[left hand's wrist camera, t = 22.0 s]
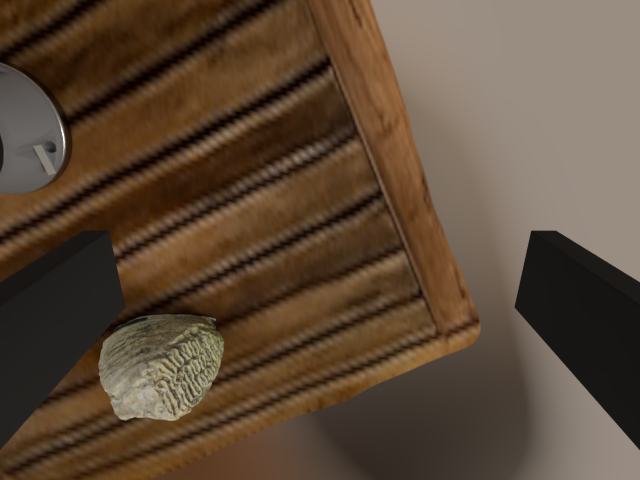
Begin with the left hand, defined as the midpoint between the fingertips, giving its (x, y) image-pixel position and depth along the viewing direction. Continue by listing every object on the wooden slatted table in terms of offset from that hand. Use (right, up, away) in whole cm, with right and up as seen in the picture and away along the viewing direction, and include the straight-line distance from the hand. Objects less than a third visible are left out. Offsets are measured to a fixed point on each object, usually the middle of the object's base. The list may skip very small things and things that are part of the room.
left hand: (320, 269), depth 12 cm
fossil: (-22, -13, +46) cm, 52 cm away
